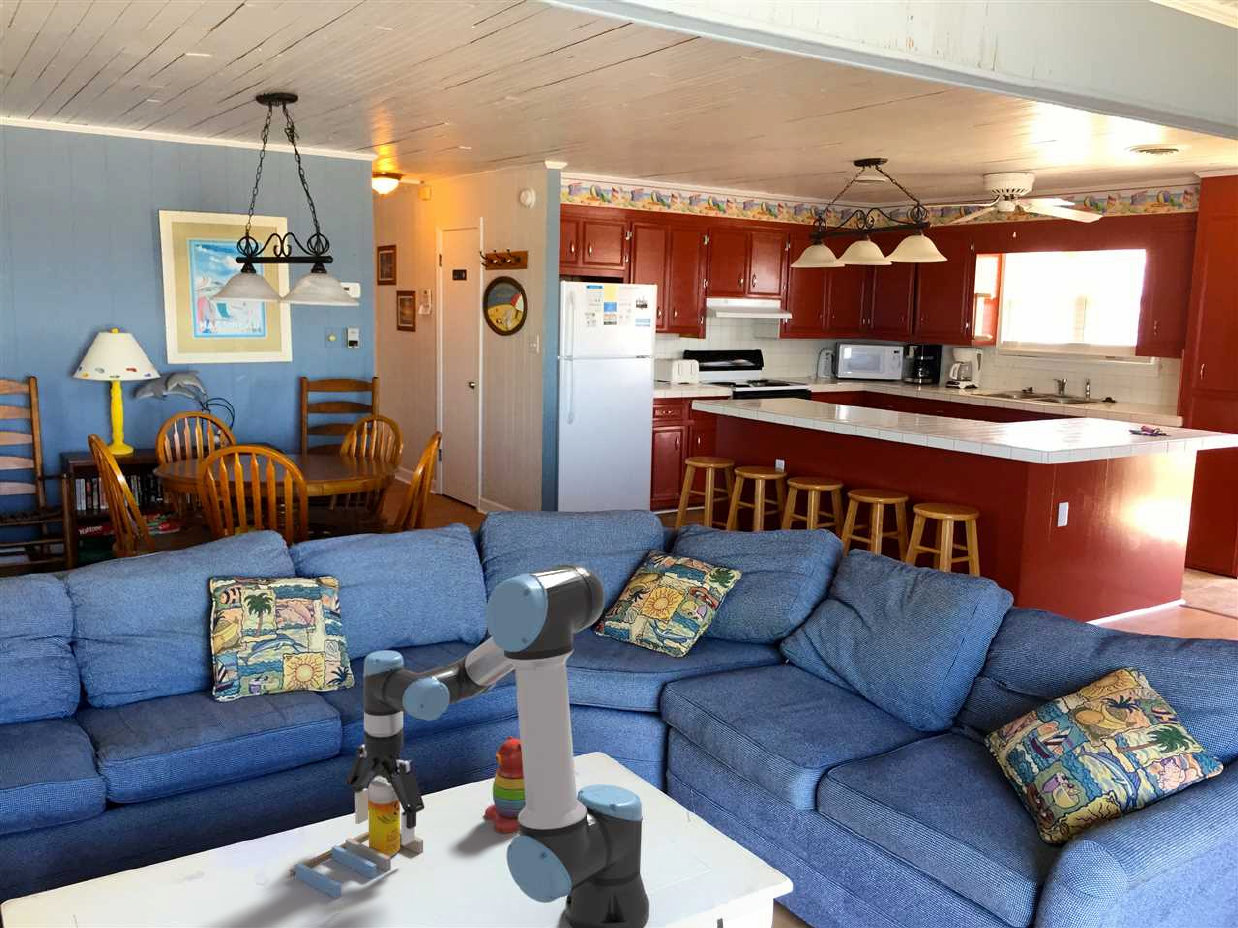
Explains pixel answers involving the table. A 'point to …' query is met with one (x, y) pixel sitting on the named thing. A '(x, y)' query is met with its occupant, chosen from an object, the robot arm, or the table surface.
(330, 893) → the rack
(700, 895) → the table surface
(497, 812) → the stacking bear
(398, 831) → the beer can
